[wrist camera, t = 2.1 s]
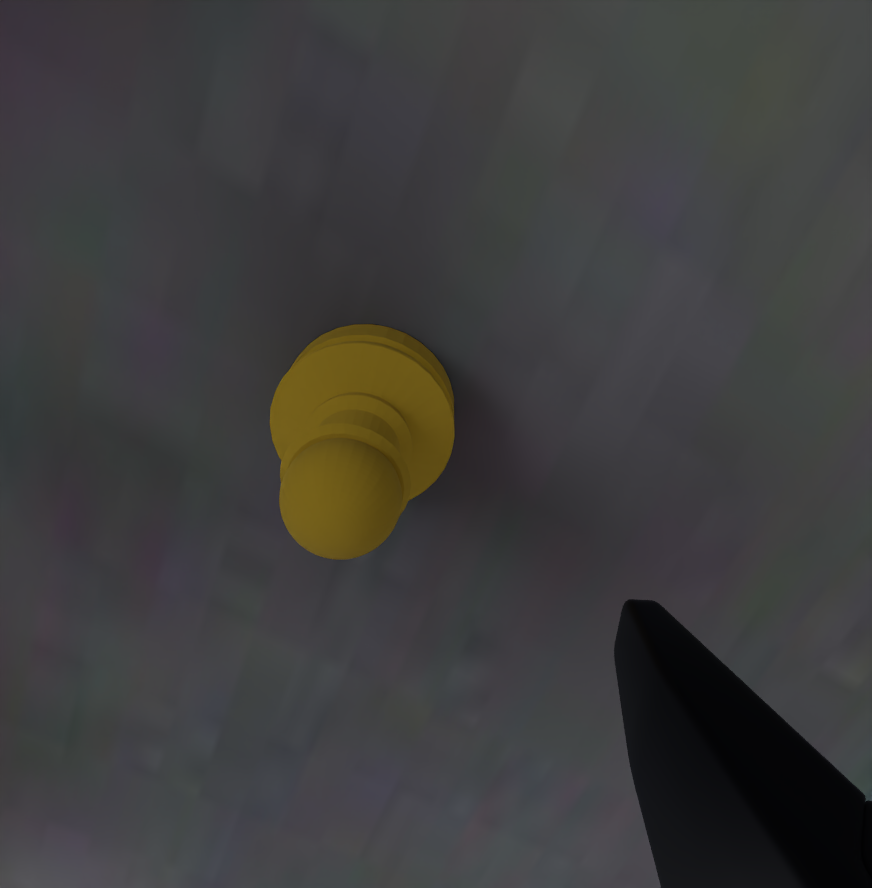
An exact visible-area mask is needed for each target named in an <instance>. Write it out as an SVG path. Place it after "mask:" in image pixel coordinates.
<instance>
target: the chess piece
mask: <svg viewBox="0 0 872 888" xmlns="http://www.w3.org/2000/svg"><path fill="white" fill-rule="evenodd" d="M270 429H271V435H272V441H273V443H274V446H275V448H276V451H277V453H278V456H279V458H280V459H281V461H282V463H281V468H280V479H281V487H280V497H279V505H280V510H281V516H282V519H283V521H284V523H285V526H286V528H287V530H288V531H289V533H290V534H291V536H292V537H293V538H294V539H295V540H296V541H297V542H298V543H299V544H300V545H301V546H302V547H304V548H305V549H306V550H308V551H309V552H311V553H313V554H315V555H318V556H321V557H324V558H329V559H351V558H356V557H359V556H362V555H364V554H367V553H369V552H370V551H372V550H374V549H375V548H377V547H378V546H379V545H380V544H381V543H383V542H384V541H385V540H386V539H387V537H388V536H389V535H390V533H391V532H392V530H393V529H394V527H395V525H396V523H397V520H398V518H399V516H400V515H401V513H402V512H403V510H404V509H405V507H406V505H407V502H408V501H409V500H411V499H412V498H414V497H416V496H417V495H419V494H421V493H422V492H424V491H425V490H426V489H427V488H428V487H429V486H431V485H432V484H433V483H434V482H435V481H436V480H437V478H438V477H439V476H440V474H441V473H442V471H443V470H444V469H445V467H446V464H447V462H448V460H449V457H450V455H451V453H452V447H453V442H454V437H455V435H454V395H453V391H452V387H451V383H450V380H449V378H448V376H447V374H446V372H445V370H444V368H443V366H442V365H441V363H440V362H439V361H438V360H437V358H436V357H435V356H434V354H433V353H432V352H431V351H430V350H428V349H427V348H426V347H425V346H424V345H423V344H422V343H421V342H419V341H417V340H416V339H414V338H412V337H411V336H409V335H407V334H406V333H403V332H401V331H398V330H395V329H393V328H390V327H385V326H380V325H374V324H354V325H349V326H345V327H340V328H336V329H334V330H332V331H329V332H327V333H325V334H323V335H321V336H320V337H318V338H317V339H315V340H314V341H313V342H311V343H310V344H309V345H308V346H307V347H306V348H305V349H304V350H303V351H302V352H301V354H300V355H299V356H298V357H297V359H296V360H295V362H294V363H293V365H292V367H291V368H290V370H289V371H288V372H287V373H286V374H285V376H284V377H283V378H282V380H281V382H280V384H279V386H278V387H277V389H276V391H275V394H274V398H273V402H272V405H271V410H270Z"/></svg>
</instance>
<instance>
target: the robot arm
mask: <svg viewBox="0 0 872 888" xmlns="http://www.w3.org/2000/svg"><path fill="white" fill-rule="evenodd" d="M614 657H615V666H616V673H617V680H618V687H619V694H620V701H621V708H622V715H623V722H624V729H625V736H626V743H627V750H628V756H629V762H630V767H631V772H632V776H633V780H634V785H635V789H636V792H637V796H638V800H639V804H640V808H641V812H642V815H643V819H644V823H645V827H646V831H647V835H648V838H649V842H650V846H651V850H652V854H653V858H654V861H655V865H656V869H657V873H658V877H659V881H660V884H661V888H872V801H866V802H865V799H866V798H865V795H864V794H863V793H862V792H861V791H860V790H859V789H858V788H857V787H856V786H855V785H853V784H852V783H851V782H850V781H849V780H848V779H847V778H846V777H845V776H844V775H843V774H842V773H841V772H839V771H838V770H837V769H836V768H835V767H834V766H833V765H832V764H831V763H830V762H829V761H828V760H827V759H826V758H824V757H823V756H822V755H821V754H820V753H819V752H818V751H817V750H816V749H815V748H814V747H813V746H812V745H810V744H809V743H808V742H807V741H806V740H805V739H804V738H803V737H802V736H801V735H800V734H799V733H798V732H797V731H795V730H794V729H793V728H792V727H791V726H790V725H789V724H788V723H787V722H786V721H785V720H784V719H783V718H781V717H780V716H779V715H778V714H777V713H776V712H775V711H774V710H773V709H772V708H771V707H770V706H769V705H768V704H766V703H765V702H764V701H763V700H762V699H761V698H760V697H759V696H758V695H757V694H756V693H755V692H754V691H752V690H751V689H750V688H749V687H748V686H747V685H746V684H745V683H744V682H743V681H742V680H741V679H740V678H739V677H737V676H736V675H735V674H734V673H733V672H732V671H731V670H730V669H729V668H728V667H727V666H726V665H725V664H723V663H722V662H721V661H720V660H719V659H718V658H717V657H716V656H715V655H714V654H713V653H712V652H711V651H709V650H708V649H707V648H706V647H705V646H704V645H703V644H702V643H701V642H700V641H699V640H698V639H697V638H696V637H694V636H693V635H692V634H691V633H690V632H689V631H688V630H687V629H686V628H685V627H684V626H683V625H682V624H680V623H679V622H678V621H677V620H676V619H675V618H674V617H673V616H672V615H671V614H670V613H669V612H668V611H667V610H665V609H664V608H663V607H662V606H661V605H660V604H659V603H657V602H655V601H652V600H634V599H630V600H628V601H626V602H625V603H624V605H623V608H622V612H621V617H620V622H619V626H618V631H617V636H616V640H615V647H614Z"/></svg>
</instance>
